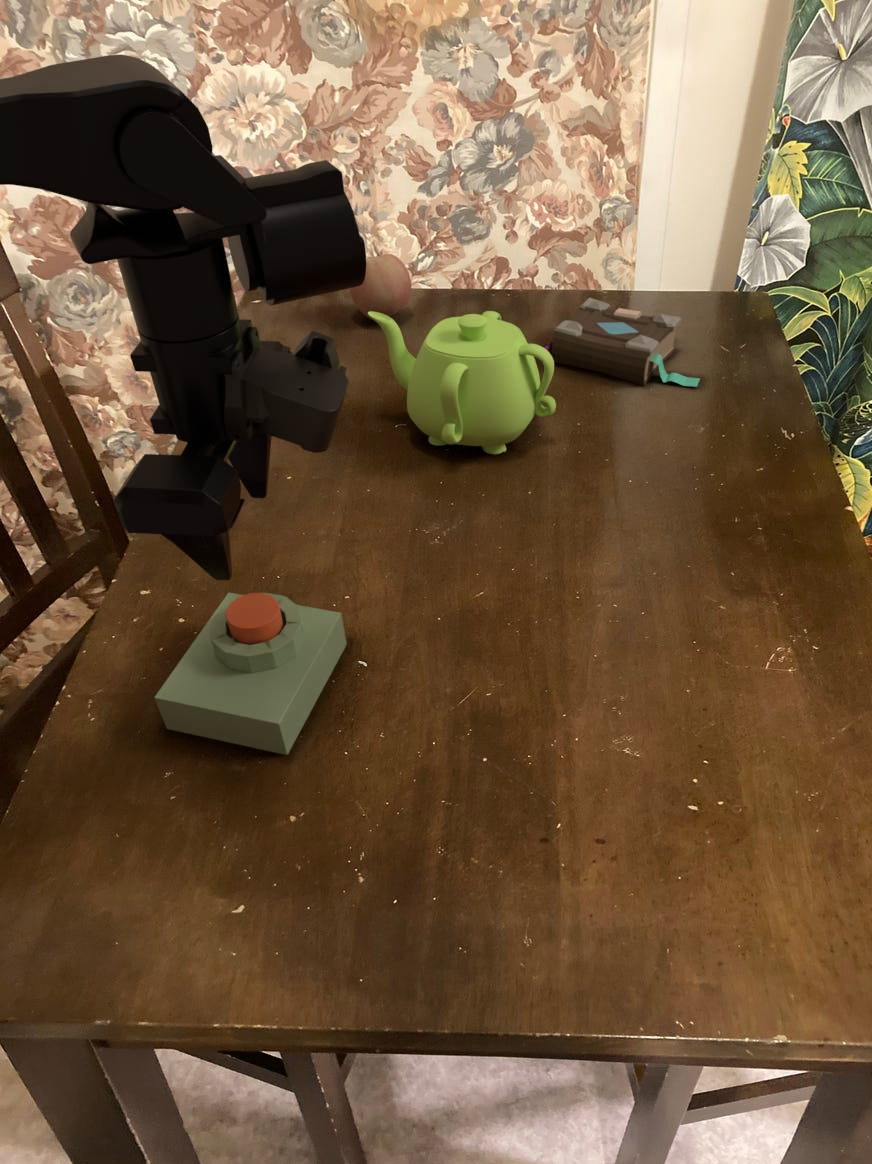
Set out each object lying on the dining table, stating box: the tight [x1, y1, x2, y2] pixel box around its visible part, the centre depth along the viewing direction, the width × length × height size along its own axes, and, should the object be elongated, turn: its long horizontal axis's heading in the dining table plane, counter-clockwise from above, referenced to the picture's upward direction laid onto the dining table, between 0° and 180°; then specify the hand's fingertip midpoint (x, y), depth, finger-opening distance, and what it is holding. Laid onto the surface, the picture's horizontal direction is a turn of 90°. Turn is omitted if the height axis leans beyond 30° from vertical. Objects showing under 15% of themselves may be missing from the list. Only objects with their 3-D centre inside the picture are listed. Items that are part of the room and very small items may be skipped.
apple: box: [348, 253, 412, 321], centre depth 115 cm, size 8×8×8 cm
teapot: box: [368, 310, 557, 455], centre depth 93 cm, size 16×14×13 cm
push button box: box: [153, 592, 347, 756], centre depth 69 cm, size 12×10×6 cm
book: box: [543, 297, 701, 388], centre depth 107 cm, size 20×12×5 cm, turn 60°
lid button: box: [226, 592, 283, 645], centre depth 68 cm, size 4×4×2 cm
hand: (242, 535), depth 62 cm, fingers open, 9 cm apart
